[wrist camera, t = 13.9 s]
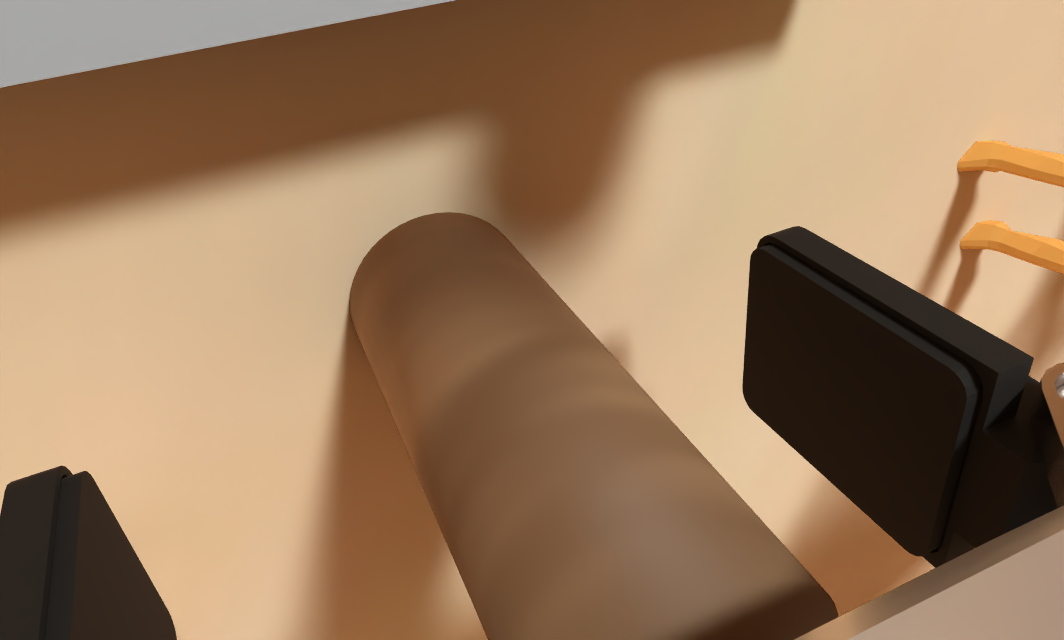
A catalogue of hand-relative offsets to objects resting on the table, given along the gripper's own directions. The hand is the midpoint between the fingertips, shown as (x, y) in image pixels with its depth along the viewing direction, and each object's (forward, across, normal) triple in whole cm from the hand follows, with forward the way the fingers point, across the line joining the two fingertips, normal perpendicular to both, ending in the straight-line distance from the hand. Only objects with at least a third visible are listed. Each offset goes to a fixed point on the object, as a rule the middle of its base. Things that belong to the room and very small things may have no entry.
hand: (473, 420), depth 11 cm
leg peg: (+3, 0, 0) cm, 3 cm away
